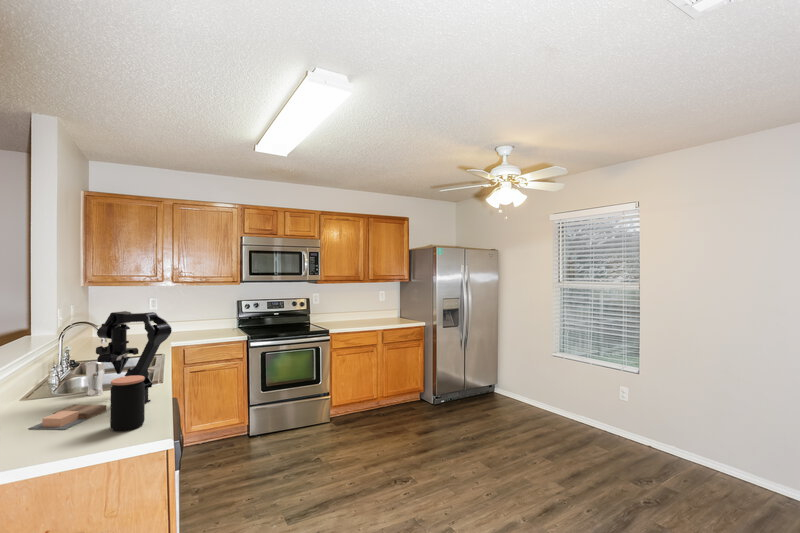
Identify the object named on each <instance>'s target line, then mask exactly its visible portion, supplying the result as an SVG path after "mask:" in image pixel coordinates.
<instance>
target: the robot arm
mask: <svg viewBox="0 0 800 533" xmlns="http://www.w3.org/2000/svg"><path fill="white" fill-rule="evenodd" d="M135 322H136V323H141V322H143V324H144V330H145V331H146V333H147V334H146V337H147V342H146V344H145V347H144V348H143V350H142V352H141V355H140V356H139V359H138V361H137V362H136V365H135V366H132V367H129V368H128V369H127V370H126V373H125V374H124V377H125V376H135V375H138V376H144V377H145V379H144V381H143V382H144V383H145V404H147V403H149V402H151V399H149V388H152V387H153V382H152V380H151V378H150V377H149V375H150V373H149V368H150V366H151V364H152V362H153V359H154V357H155V355H156V354H157V352H158V350H159V348H160V345H161V344H162V343H164V342H165V341H166V340H168V338H169V337H170V336H171V334H172V330H173V329H172V326H171V325H170V324H169V323H168V321H167V320H165V319H164V318H162V317H160V316H159V315H158V314H157V312H154V311H151V312H140V313H139V312H137V313H133V312H131V311H126V310H125V311H114V312H111V313H109V315H108V317H107V319H106V321H105V322H104V323H101V326H99V328H98V329H97V330H96V336H97V337H98V338H100V339H107V340H108V339H109V340H110V342H108V343H107V344H108V345H107V346H104V347H103V345H99V346H97V347H95V354H96V355H99V356H97V360H96V361H97V362H104V363H111V364H112V365H113V367H114V370H115V372H116V374H117V375H120V374H122V373H123V370H124V368H125V366H126V364H127V363H128V361H129V359H131V356H128V355H134V356H135V355H139V348H137V347H127V344H129V342H130V340H128V339H127V337H128V336H127V333H128V332H127V331H129V330H131V327H130V326H129V325H127V324H130V323H135ZM151 322H153V324H152V323H151Z"/></svg>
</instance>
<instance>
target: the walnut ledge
mask: <svg viewBox="0 0 800 533" xmlns="http://www.w3.org/2000/svg"><path fill="white" fill-rule="evenodd" d="M60 411H79V419H87V420H86V421H88V420H89V419H92V418H94V417H97V416H98V415H101V414H103V413H105V411H106V412H107V404H73V405H70V406H67V407H65V408H61V409H59V410H56V411H53V412H52V415H53V414H55V413H58V412H60Z"/></svg>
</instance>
